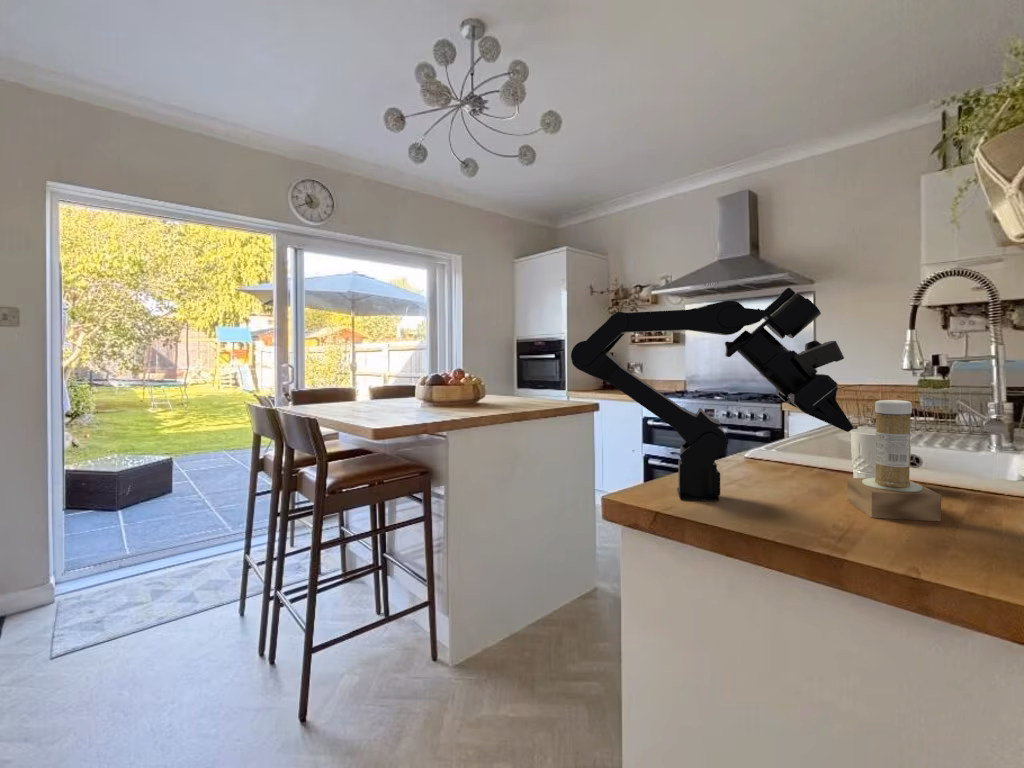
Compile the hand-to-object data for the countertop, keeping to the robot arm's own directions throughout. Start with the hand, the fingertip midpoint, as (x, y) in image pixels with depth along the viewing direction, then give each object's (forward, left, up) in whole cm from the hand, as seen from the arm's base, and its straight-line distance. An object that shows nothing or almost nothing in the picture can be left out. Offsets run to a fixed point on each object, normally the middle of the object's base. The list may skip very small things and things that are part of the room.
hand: (842, 425), depth 80 cm
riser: (+7, -1, -14) cm, 15 cm away
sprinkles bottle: (+7, -2, -9) cm, 12 cm away
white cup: (+12, +17, -14) cm, 25 cm away
